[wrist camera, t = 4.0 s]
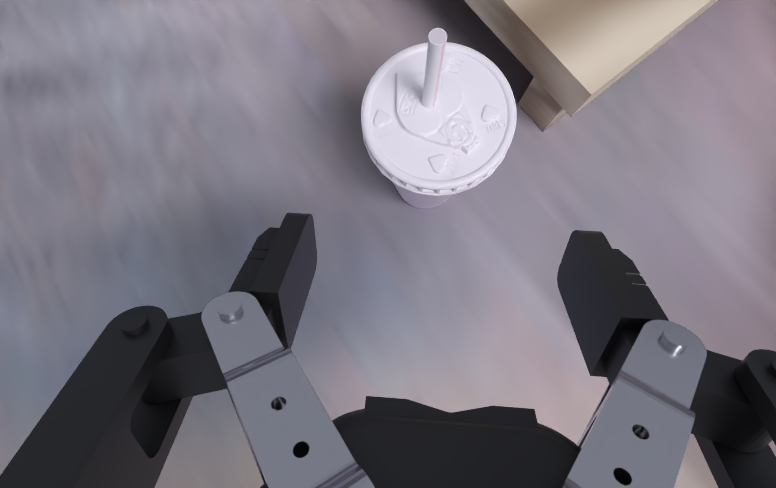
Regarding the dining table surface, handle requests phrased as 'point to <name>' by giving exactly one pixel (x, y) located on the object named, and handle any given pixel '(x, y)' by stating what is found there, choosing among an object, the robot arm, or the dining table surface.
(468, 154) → the smoothie
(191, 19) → the dining table surface
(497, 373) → the dining table surface
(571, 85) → the low wooden platform
